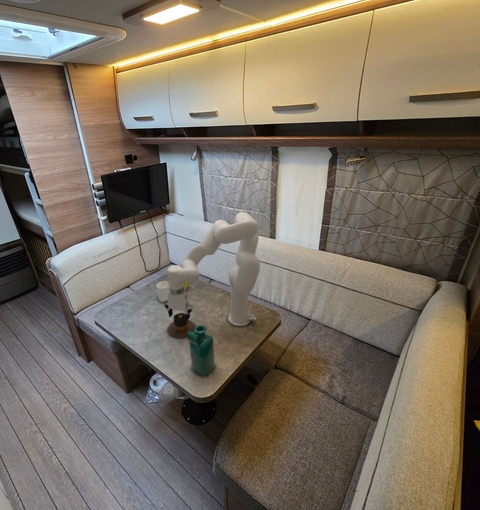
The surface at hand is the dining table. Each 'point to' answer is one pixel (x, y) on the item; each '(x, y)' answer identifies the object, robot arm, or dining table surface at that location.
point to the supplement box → (185, 285)
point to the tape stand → (181, 329)
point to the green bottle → (201, 350)
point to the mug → (162, 291)
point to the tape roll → (180, 320)
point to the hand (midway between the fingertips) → (179, 317)
